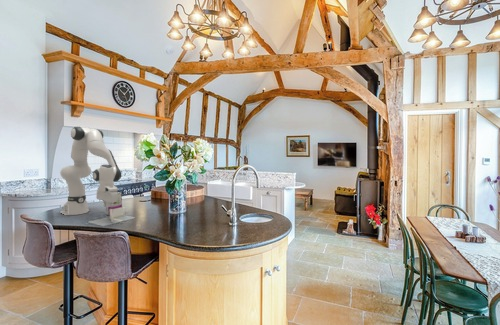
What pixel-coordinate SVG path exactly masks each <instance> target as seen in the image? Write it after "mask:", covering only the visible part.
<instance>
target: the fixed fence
mask: <svg viewBox="0 0 500 325" xmlns="http://www.w3.org/2000/svg"><path fill="white" fill-rule="evenodd" d="M125 209H126V207H125V206H123V205H122V208H117V209H110V210H112V212H113V217H118V216H125V214H126V213H125V211H126V210H125Z"/></svg>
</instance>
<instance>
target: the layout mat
mask: <svg viewBox="0 0 500 325" xmlns="http://www.w3.org/2000/svg"><path fill="white" fill-rule="evenodd" d="M134 218H135V219H136V217H134V216H130V215H129V216H128V215H125V216H118V217H113V222H111V219H110V216H107V217H102V218H98V219H94V220H89V221H87V223H88V224H91V225H95V226H99V227H100V226H101V227H106V226H111V225H115V224H118V223H123V222H127V221H130V219H131V220H134ZM126 220H127V221H126Z"/></svg>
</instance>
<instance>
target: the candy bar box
mask: <svg viewBox="0 0 500 325" xmlns="http://www.w3.org/2000/svg"><path fill="white" fill-rule="evenodd" d="M117 193H118V198H117V202H113V203H112V202H110V204H109V207H105V215H106V216H110V209H117V208H122V207H123V200H122V199H123V198H122V192H117Z"/></svg>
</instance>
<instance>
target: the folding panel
mask: <svg viewBox="0 0 500 325" xmlns="http://www.w3.org/2000/svg"><path fill="white" fill-rule="evenodd" d="M109 217H110V219H111V222H113V212H112V210H110V215H109Z"/></svg>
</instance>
